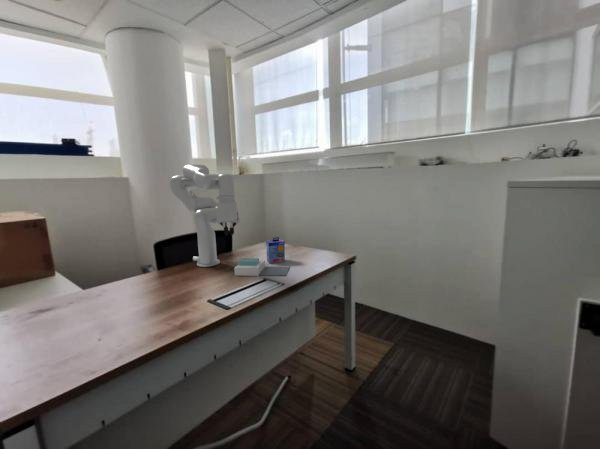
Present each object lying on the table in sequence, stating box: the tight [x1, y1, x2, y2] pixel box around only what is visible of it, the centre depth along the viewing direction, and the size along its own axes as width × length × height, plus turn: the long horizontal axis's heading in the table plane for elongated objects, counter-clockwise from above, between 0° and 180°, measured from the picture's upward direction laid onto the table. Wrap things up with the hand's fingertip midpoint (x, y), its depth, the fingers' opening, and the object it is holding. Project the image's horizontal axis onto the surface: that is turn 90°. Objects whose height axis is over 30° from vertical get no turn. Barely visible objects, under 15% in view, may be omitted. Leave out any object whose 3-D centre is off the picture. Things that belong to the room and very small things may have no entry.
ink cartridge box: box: [265, 236, 286, 264], centre depth 159 cm, size 10×6×14 cm, turn 115°
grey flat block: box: [234, 259, 266, 277], centre depth 143 cm, size 12×14×4 cm
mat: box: [259, 265, 291, 277], centre depth 142 cm, size 13×14×1 cm
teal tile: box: [238, 257, 260, 265], centre depth 143 cm, size 9×6×2 cm, turn 84°
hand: (229, 234), depth 142 cm, fingers closed
